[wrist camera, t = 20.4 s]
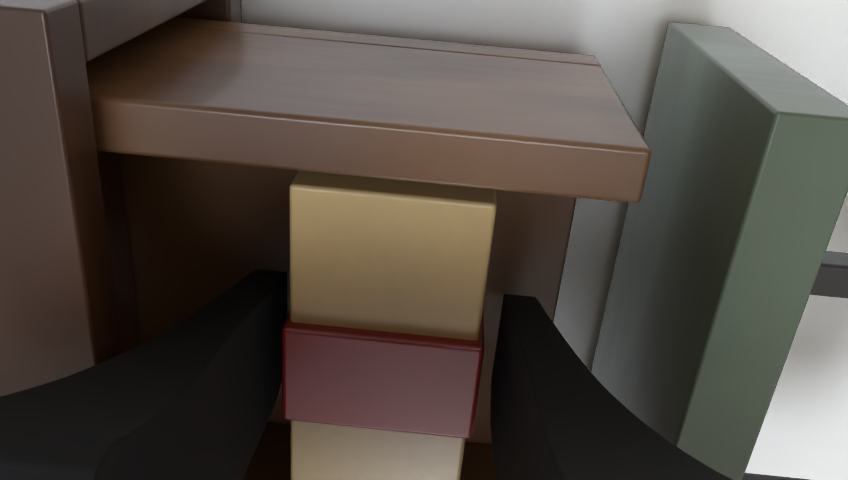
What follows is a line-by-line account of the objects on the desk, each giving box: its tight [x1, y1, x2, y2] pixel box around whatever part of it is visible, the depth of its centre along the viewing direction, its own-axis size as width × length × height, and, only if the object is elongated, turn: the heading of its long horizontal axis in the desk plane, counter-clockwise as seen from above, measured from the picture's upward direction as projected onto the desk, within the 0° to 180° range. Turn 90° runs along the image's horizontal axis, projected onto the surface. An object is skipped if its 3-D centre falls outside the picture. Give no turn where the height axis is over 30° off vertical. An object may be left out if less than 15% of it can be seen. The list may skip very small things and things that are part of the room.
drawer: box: [86, 17, 848, 480], centre depth 14 cm, size 17×11×6 cm, turn 86°
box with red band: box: [282, 171, 497, 480], centre depth 14 cm, size 7×3×4 cm, turn 176°
